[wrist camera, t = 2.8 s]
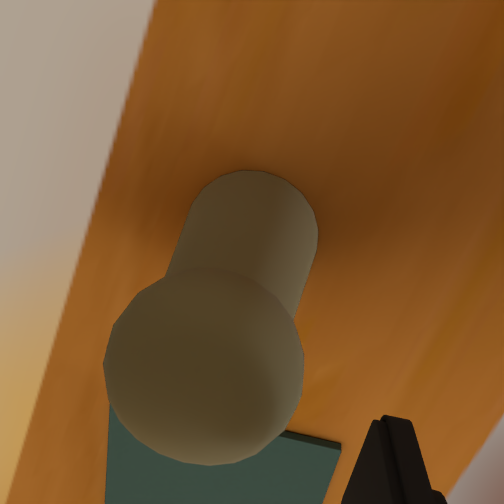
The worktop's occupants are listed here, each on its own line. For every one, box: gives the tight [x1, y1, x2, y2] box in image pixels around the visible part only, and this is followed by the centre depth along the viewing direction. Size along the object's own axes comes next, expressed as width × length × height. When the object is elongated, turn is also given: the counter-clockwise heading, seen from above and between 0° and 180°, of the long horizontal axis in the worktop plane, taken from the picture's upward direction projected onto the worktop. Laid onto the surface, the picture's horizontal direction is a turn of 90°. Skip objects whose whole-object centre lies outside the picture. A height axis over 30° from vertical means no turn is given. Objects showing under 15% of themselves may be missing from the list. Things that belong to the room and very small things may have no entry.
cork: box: [103, 170, 318, 466], centre depth 15 cm, size 6×6×11 cm
